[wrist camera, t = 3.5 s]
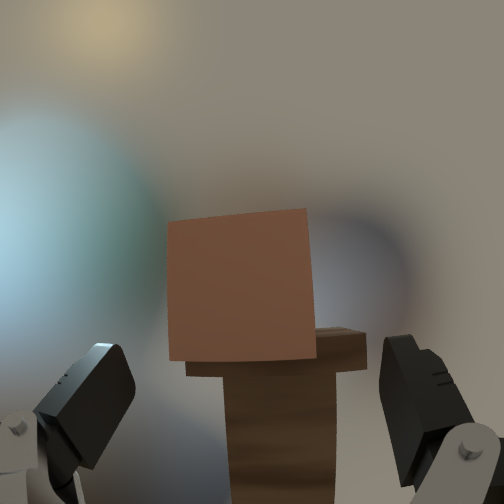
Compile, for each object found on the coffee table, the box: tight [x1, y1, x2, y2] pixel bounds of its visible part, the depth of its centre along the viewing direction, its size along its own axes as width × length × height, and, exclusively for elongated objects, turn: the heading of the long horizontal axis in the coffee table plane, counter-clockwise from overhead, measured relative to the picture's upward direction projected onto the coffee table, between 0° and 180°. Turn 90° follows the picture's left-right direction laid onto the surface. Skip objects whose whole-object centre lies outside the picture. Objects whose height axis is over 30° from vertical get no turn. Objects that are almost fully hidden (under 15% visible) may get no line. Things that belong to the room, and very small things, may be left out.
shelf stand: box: [185, 327, 367, 504], centre depth 21 cm, size 14×10×30 cm
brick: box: [167, 208, 317, 362], centre depth 19 cm, size 22×4×4 cm, turn 171°
